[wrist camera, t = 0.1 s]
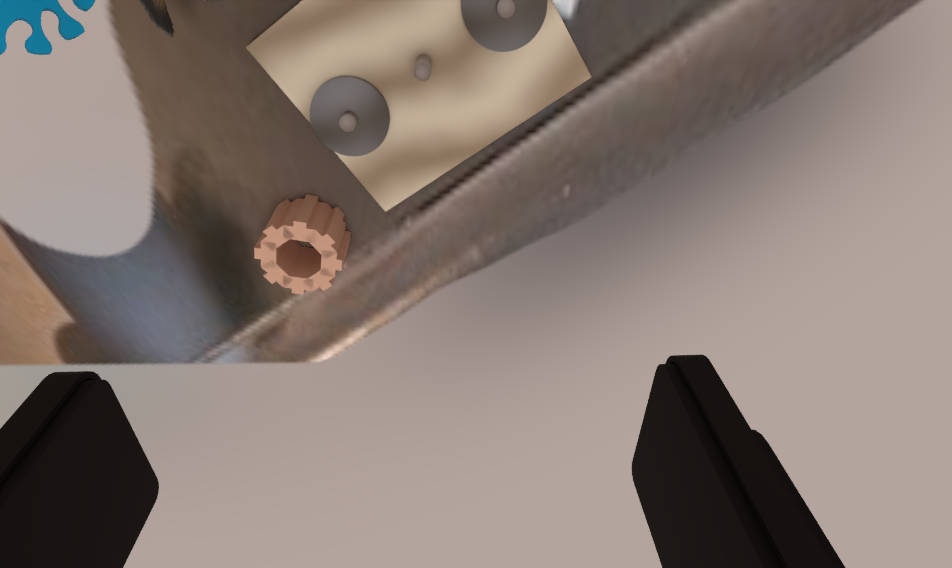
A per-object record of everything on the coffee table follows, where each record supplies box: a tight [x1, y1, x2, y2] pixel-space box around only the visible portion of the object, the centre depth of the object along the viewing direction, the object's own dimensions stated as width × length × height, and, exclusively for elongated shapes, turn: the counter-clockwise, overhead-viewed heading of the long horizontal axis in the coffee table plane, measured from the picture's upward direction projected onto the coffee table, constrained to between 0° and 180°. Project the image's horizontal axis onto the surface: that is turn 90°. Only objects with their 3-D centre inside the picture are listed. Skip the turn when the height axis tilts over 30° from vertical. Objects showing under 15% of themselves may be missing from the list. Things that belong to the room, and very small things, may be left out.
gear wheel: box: [254, 194, 351, 295], centre depth 47 cm, size 7×7×5 cm
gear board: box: [246, 0, 591, 212], centre depth 39 cm, size 16×20×5 cm
